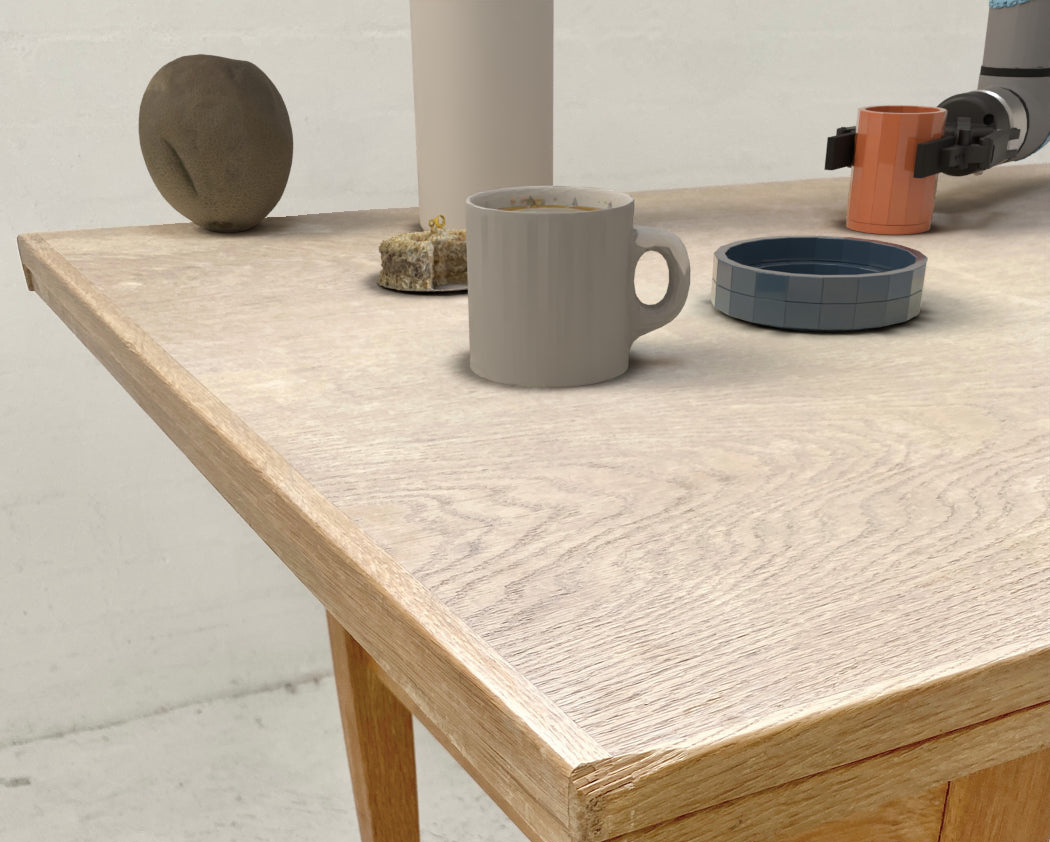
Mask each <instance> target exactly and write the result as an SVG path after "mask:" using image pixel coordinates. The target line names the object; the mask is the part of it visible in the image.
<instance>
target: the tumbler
mask: <svg viewBox="0 0 1050 842" xmlns="http://www.w3.org/2000/svg"><path fill="white" fill-rule="evenodd" d="M946 118H947V110H946V109H944V108H938V107H937V106H928V105H912V104H911V105H910V104H883V105H869V106H868V105H867V106H862V107H859V108H857V113H856V123H855V126H856V132H855V141H854V150H853V159H852V168H850V169H851V170H850V177H849V188H848V197H847V206H846V215H845V216H846V221H845V227H846V228H847V229H848V230H852V231H855V232H859V233H865V234H876V235H888V236H889V235H892V236H893V235H894V236H895V235H896V236H898V235H902V236H903V235H915V234H921V233H926V232H928V231H930V230H931V225H932V220H933V216H934V210H935V201H936V196H937V189H938V181H939V175H940V173H938V174H935V175H931V176H928V177H924V178H913V176H914V168H915V161H916V153H917V146H918V144H920V143H924V142H928V141H932V140H936V139H940V138H944V132H945V125H946Z"/></svg>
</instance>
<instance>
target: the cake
mask: <svg viewBox="0 0 1050 842" xmlns="http://www.w3.org/2000/svg"><path fill="white" fill-rule="evenodd" d="M439 216H440V217H441V218H442V220H443V221H442V224H439V220H438V218H439ZM439 216H437V217H436V218H434V219H431V221H430V220H429V223H428V224H429V227H431V230H430V231H424V230H422V231H414V232H406V233H397V234H396V235H391V237H390V238H389V239H388V240H384V239H383V240H382V241H381V243H380V245H379V246H378V253H380V260H381V264H380V266H381V268H382V269H381V270H380V271H379V276H378V279H377V280H376V284H377V285H378V286H379V287H384V288H387V289H392V290H396V291H405V292H434V293H448V292H449V293H450V292H459V291H468V287H465V288H449V289H435V286H436V287H437V286H446V285H448V284H463V285H464V284H465V285H466V284H467V285H468V277H467V243H466V229H462V230H454V229H452V230H446V225H445V223H446V221H445V217H444V216H443V215H439ZM431 222H433V224H432V225H431Z"/></svg>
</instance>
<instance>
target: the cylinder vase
mask: <svg viewBox="0 0 1050 842" xmlns="http://www.w3.org/2000/svg"><path fill="white" fill-rule="evenodd" d="M554 1H555V0H409V1H408V2H409V20H410V21H409V23H410V42H411V43H410V45H411V65H412V67H411V68H412V87H413V88H412V89H413V109H414V128H415V129H414V131H415V149H416V150H415V151H416V152H415V153H416V169H417V170H416V173H417V174H416V175H417V194H418V195H417V196H418V214H419V215H418V216H419V218H418V219H419V226H420V227H421V229H422V231H430V230H431V227H429V224H428V223H429V220H430V221H431V219H434V218H436V217H437V216H439V215H443V216H444V217H445V221H446V223H445V225H446V230H452V229H454V230H462V229H466V199H467V198H468V197H469V196H471V195H474V194H476V193H479V192H483V191H488V190H495V189H502V188H512V187H525V186H554V40H555V39H554V37H555V36H554V34H555V33H554V32H555V31H554V29H555V28H554V23H555V22H554V21H555V20H554V17H555V15H554V12H555V10H554V7H555V6H554V5H555V3H554ZM438 220H439V224H442V221H443V220H442V218H441V217H440V216H439V218H438ZM432 224H433V222H431V225H432Z"/></svg>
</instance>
